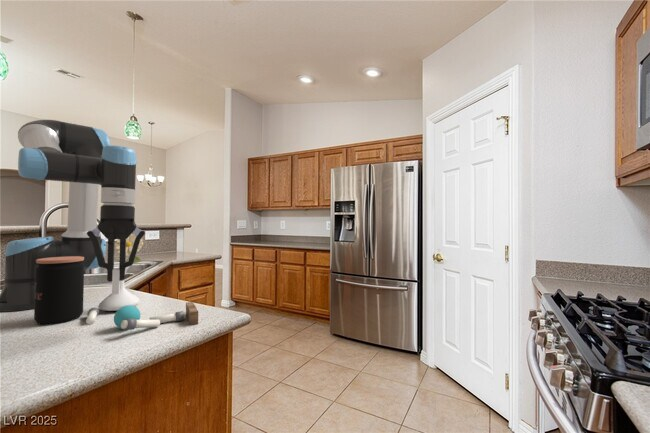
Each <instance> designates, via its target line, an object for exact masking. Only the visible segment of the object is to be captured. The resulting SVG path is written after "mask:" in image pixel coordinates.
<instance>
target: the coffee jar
mask: <svg viewBox="0 0 650 433" xmlns="http://www.w3.org/2000/svg"><path fill="white" fill-rule="evenodd" d="M83 260H84V257H81V256H68V257H51V258H41V259H37V260H36V263H37V264H38V267H37V268H36V273H35V308H34V309H33V310H34V313H33V314H34V316H33V317H34V318H33V319H34V321H35V322H36V323H37V324H38V325H40V326H41V325H42V326H48V325H49V326H50V325H57V324H58V325H60V324H64V323H69V322H72V321H75V320H77V319H79V318H81V316H82V315H83V312H84V288H85V287H84V285H85V282H84V281H85V270H84V265H83V264H82V261H83Z"/></svg>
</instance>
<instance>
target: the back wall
mask: <svg viewBox="0 0 650 433" xmlns="http://www.w3.org/2000/svg"><path fill="white" fill-rule="evenodd" d="M185 315H186V318H187V320H188V323H189V325H190V326H196V325H198V324H199V310H198V308H197V307H196V305H195V303H194V302H193V301H188V302H185Z"/></svg>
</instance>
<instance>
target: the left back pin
mask: <svg viewBox="0 0 650 433" xmlns="http://www.w3.org/2000/svg"><path fill="white" fill-rule="evenodd" d="M99 313H100V308H99V307H96V306H95V307H91V308H89V309H88V311H87V318H86V320H85V323H86V324H87V325H92V324H94V323H95V322H96V319H97V317H98V316H99Z"/></svg>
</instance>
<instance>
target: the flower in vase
mask: <svg viewBox="0 0 650 433" xmlns="http://www.w3.org/2000/svg"><path fill="white" fill-rule="evenodd" d="M135 239H136V236H135V233H134V234H133V233H132V234H131V235H130V236H129V237H128V238H127V239H126V257H128V258H126V262H128V261H129V257H130V254H131V251H132V248H133V245H134V241H135ZM143 245H144V242H143V239H142V238H141V239H140V243H139V246H138V249H137V252H136V253H138V252H140V251H141V250H140V249H142V248H143ZM114 251H115V253H116V254H119V255H120V240H119V239H115V244H114ZM114 261H118V262H119V261H120V259H118V258H114ZM141 262H143V259H142V258H140V257H139V256H138V255H135V259H134V262H133V264H137V263H141ZM114 268H119V266H114ZM129 268H130V266H128V267H126V268H125V275H126V273H127V271H128V270H129ZM139 303H141V300H140V298H139V297H138V296H137V295H135V294H133V293H132V292H130V291H128V290H127V289H126V286H125V279H124V280H123V281H120V292H119V294H113V295H112V292H111V293H110V294H109V295H107V296H106V297H105V298H104V299H103V300H101V302H100V303H99V305H97V306H98V307H97V308H98V309H99V310H102V311H108V312H111V311H112V312H113V311H116V312H117V311H118V310H119V309H120V308H121V307H124V306H127V305H132V306H135V307H137V305H139Z"/></svg>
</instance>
